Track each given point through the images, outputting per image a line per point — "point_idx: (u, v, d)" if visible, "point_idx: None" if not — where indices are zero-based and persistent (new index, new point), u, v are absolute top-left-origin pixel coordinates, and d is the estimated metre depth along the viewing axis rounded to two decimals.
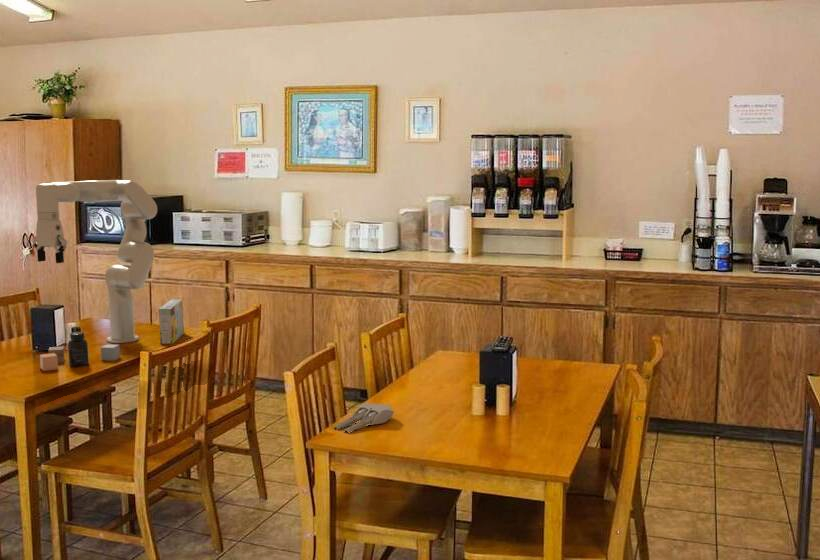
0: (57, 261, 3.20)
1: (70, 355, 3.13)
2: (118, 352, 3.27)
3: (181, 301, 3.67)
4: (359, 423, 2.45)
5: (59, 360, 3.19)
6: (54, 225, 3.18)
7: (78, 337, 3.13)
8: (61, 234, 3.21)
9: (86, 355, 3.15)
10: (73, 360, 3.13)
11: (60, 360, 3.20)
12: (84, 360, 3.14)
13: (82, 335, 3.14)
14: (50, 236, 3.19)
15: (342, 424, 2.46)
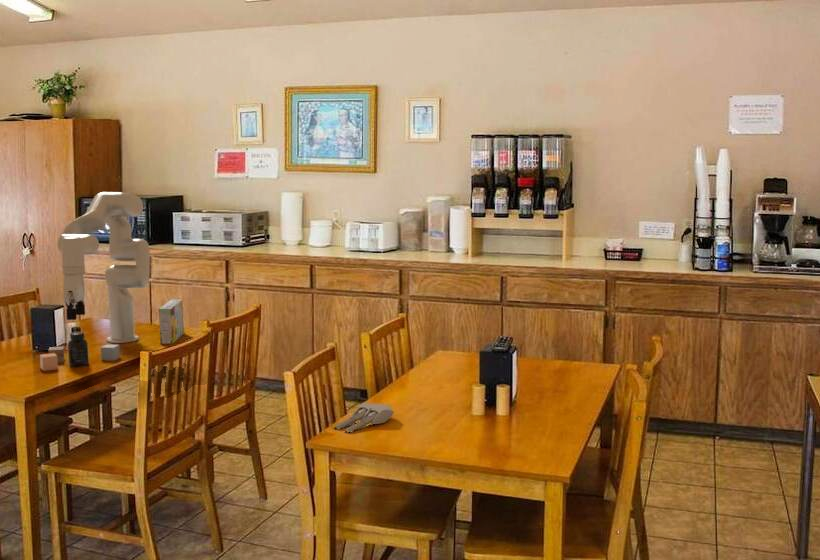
0: None
1: (70, 355, 3.13)
2: (118, 352, 3.27)
3: (181, 301, 3.67)
4: (359, 423, 2.45)
5: (59, 360, 3.19)
6: None
7: (78, 337, 3.13)
8: None
9: (86, 355, 3.15)
10: (73, 360, 3.13)
11: (60, 360, 3.20)
12: (84, 360, 3.14)
13: (82, 335, 3.14)
14: (83, 288, 3.15)
15: (342, 424, 2.46)
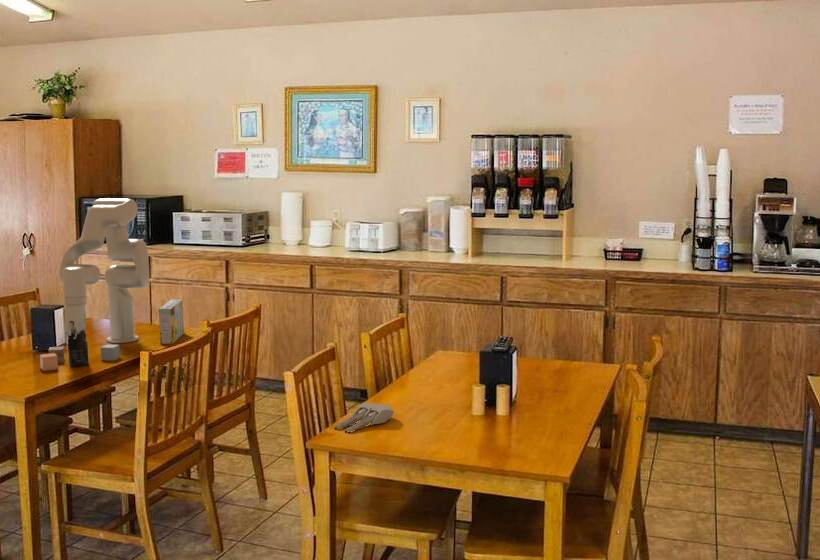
0: None
1: (70, 355, 3.13)
2: (118, 352, 3.27)
3: (181, 301, 3.67)
4: (359, 423, 2.45)
5: (59, 360, 3.19)
6: None
7: (78, 337, 3.13)
8: None
9: (86, 355, 3.15)
10: (73, 360, 3.13)
11: (60, 360, 3.20)
12: (84, 360, 3.14)
13: (82, 335, 3.14)
14: (85, 318, 3.17)
15: (342, 424, 2.46)
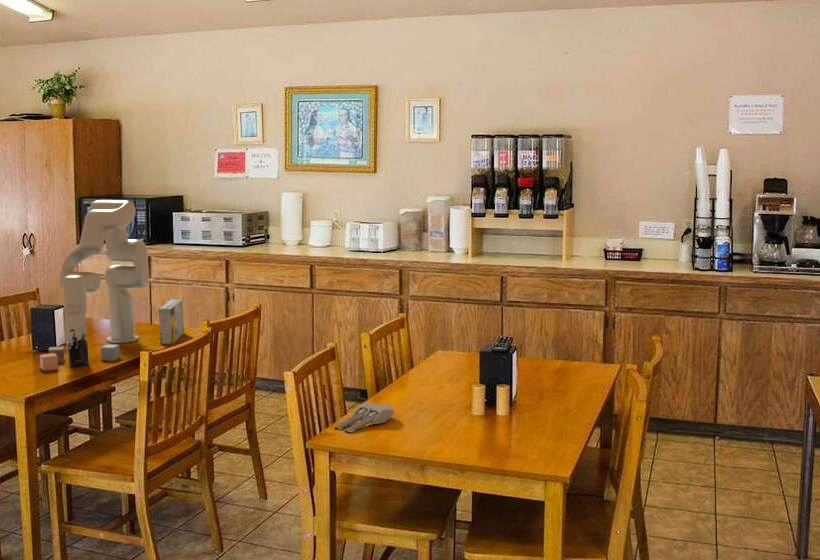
0: None
1: None
2: (118, 352, 3.27)
3: (181, 301, 3.67)
4: (360, 423, 2.45)
5: (59, 360, 3.19)
6: None
7: None
8: None
9: (86, 355, 3.15)
10: (73, 360, 3.13)
11: (60, 360, 3.20)
12: (83, 360, 3.14)
13: None
14: (85, 325, 3.18)
15: (342, 424, 2.46)
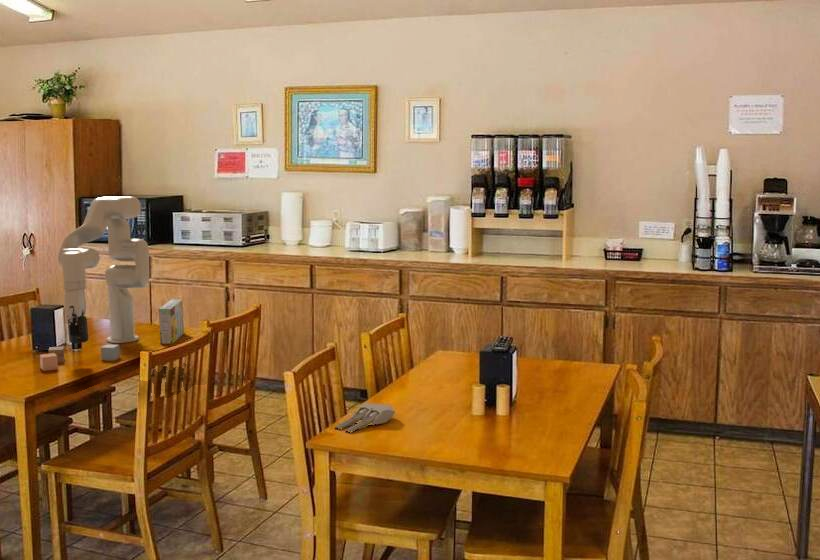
0: None
1: None
2: (118, 352, 3.27)
3: (181, 301, 3.67)
4: (360, 423, 2.45)
5: (59, 360, 3.19)
6: None
7: None
8: None
9: (86, 332, 3.15)
10: (73, 336, 3.12)
11: (60, 360, 3.20)
12: (83, 337, 3.14)
13: None
14: (85, 302, 3.17)
15: (343, 424, 2.46)
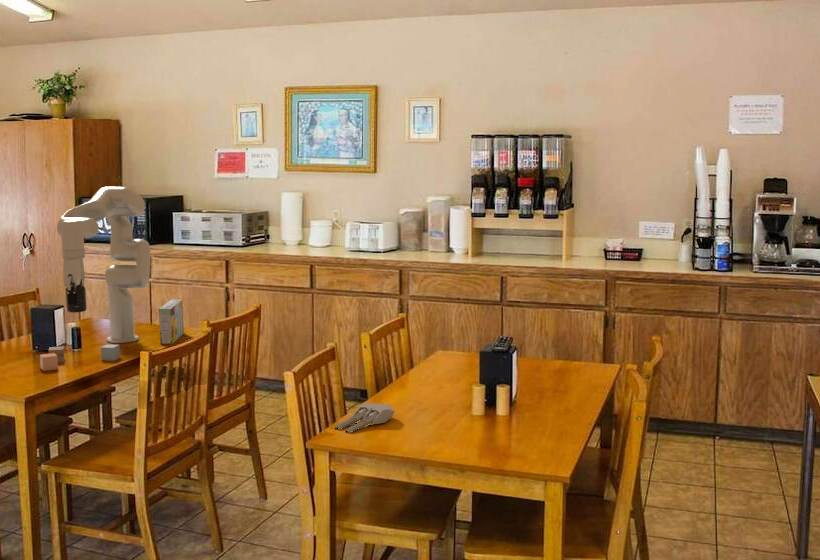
0: None
1: None
2: (118, 352, 3.27)
3: (181, 301, 3.67)
4: (360, 423, 2.45)
5: (59, 360, 3.19)
6: None
7: None
8: None
9: (84, 301, 3.13)
10: (71, 305, 3.10)
11: (60, 360, 3.20)
12: (81, 306, 3.12)
13: None
14: (83, 272, 3.15)
15: (343, 424, 2.46)
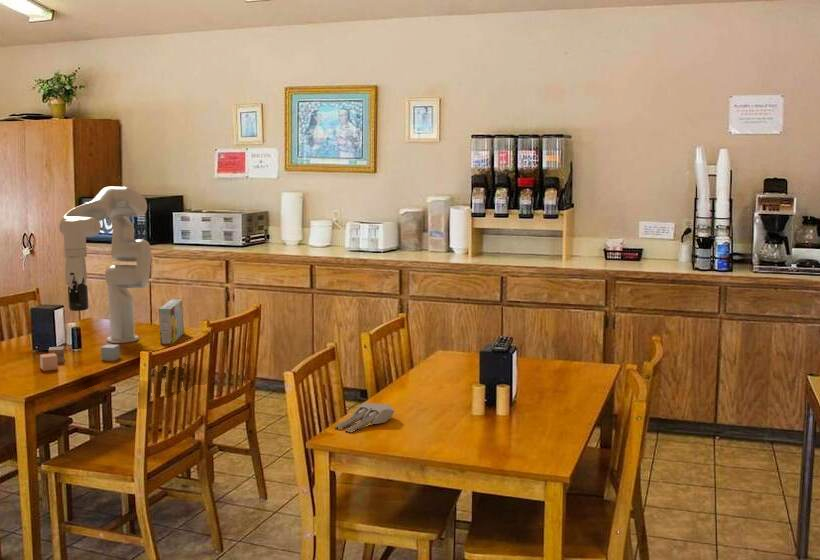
0: None
1: None
2: (118, 352, 3.27)
3: (181, 301, 3.67)
4: (360, 423, 2.45)
5: (59, 360, 3.19)
6: None
7: None
8: None
9: (86, 299, 3.15)
10: (73, 304, 3.13)
11: (60, 360, 3.20)
12: (83, 304, 3.14)
13: None
14: (85, 270, 3.18)
15: (343, 424, 2.46)
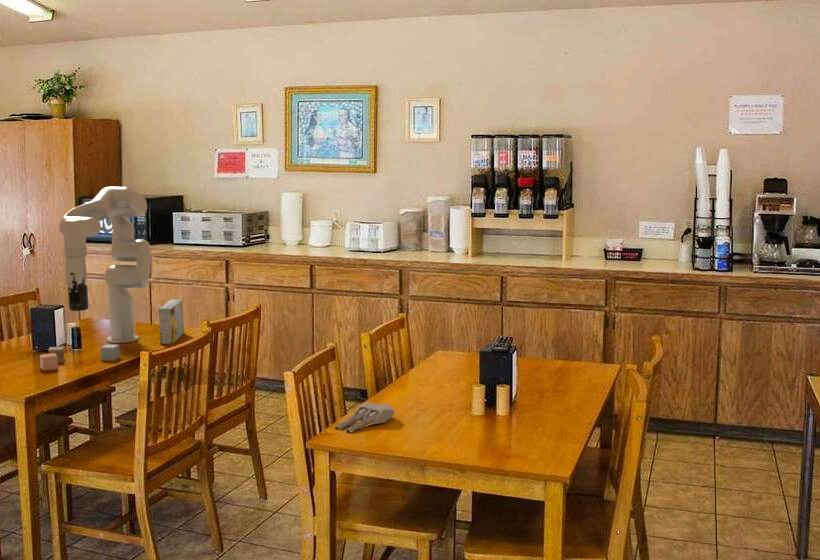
0: None
1: None
2: (118, 352, 3.27)
3: (181, 301, 3.67)
4: (360, 423, 2.45)
5: (59, 360, 3.19)
6: None
7: None
8: None
9: (86, 299, 3.15)
10: (73, 304, 3.13)
11: (60, 360, 3.20)
12: (83, 304, 3.14)
13: None
14: (85, 270, 3.18)
15: (343, 424, 2.46)
